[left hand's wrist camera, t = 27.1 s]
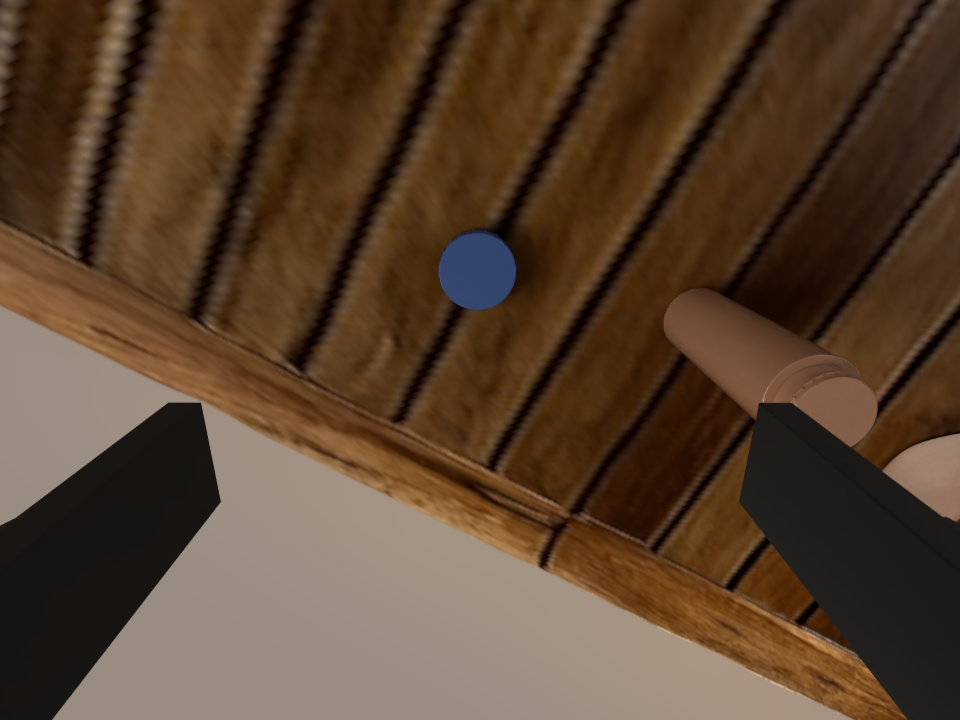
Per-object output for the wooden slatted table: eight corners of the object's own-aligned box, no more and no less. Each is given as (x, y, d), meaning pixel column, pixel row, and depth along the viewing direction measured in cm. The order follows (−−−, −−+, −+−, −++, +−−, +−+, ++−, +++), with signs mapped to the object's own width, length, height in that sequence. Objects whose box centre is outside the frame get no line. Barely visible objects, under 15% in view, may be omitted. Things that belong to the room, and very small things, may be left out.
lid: (425, 273, 38) (422, 278, 37) (471, 212, 37) (471, 215, 35) (483, 318, 40) (483, 325, 38) (530, 261, 38) (533, 266, 36)
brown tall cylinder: (727, 281, 39) (892, 357, 23) (731, 343, 40) (886, 453, 25) (660, 295, 39) (778, 378, 24) (666, 356, 41) (780, 472, 25)
